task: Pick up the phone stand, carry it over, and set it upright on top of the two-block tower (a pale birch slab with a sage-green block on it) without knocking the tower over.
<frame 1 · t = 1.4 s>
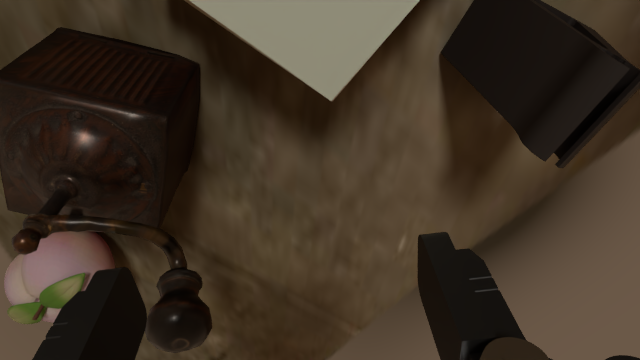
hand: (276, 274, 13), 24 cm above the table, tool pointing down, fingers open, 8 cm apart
phone stand: (514, 39, 34), on the table
decorative fruit: (89, 235, 46), on the table
manual coffee grinder: (163, 112, 38), on the table
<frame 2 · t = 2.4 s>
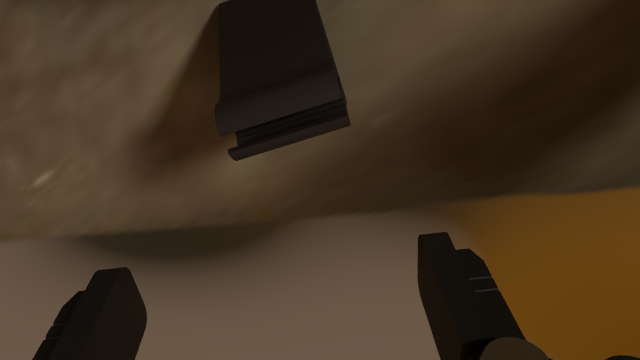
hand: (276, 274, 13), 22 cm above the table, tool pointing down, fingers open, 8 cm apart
phone stand: (286, 53, 32), on the table
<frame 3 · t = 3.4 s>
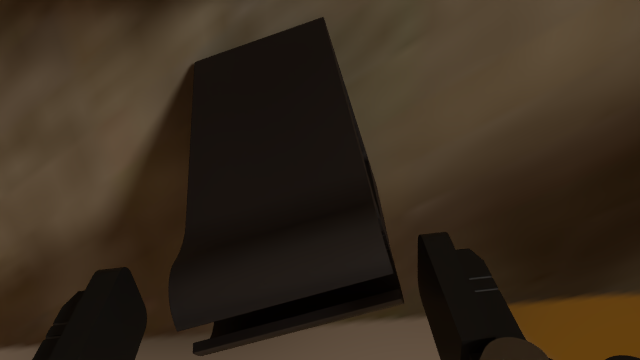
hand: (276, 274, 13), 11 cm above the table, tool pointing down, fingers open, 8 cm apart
phone stand: (293, 124, 23), on the table
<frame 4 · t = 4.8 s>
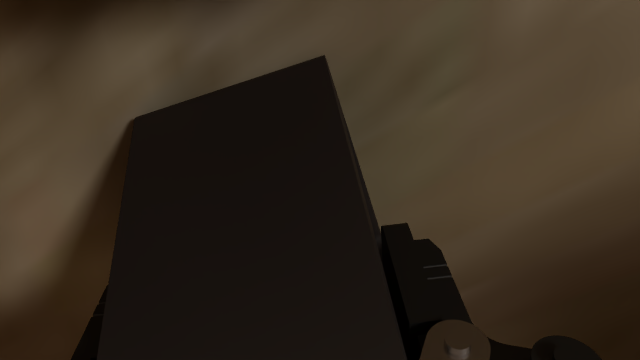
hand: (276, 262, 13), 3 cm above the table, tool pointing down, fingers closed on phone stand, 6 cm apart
phone stand: (280, 198, 16), on the table, touching gripper
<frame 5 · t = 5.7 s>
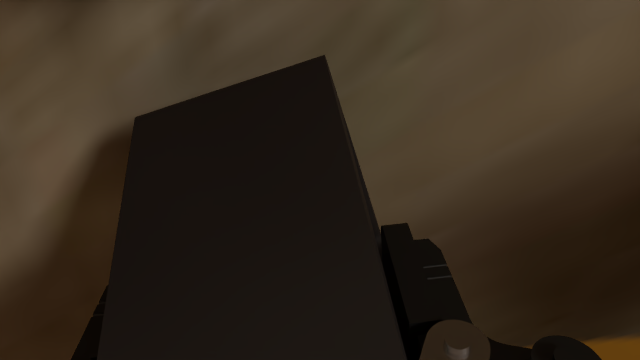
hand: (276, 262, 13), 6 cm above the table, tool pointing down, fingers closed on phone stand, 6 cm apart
phone stand: (280, 197, 16), point 3 cm above the table, touching gripper
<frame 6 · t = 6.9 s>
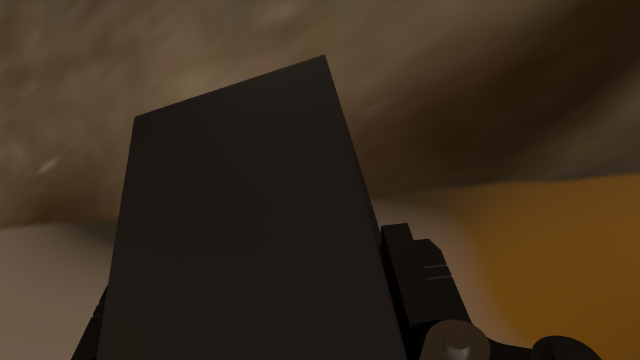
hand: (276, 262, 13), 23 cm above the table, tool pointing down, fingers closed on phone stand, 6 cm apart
phone stand: (280, 197, 16), point 20 cm above the table, touching gripper
when the fingers open (14 cm above the table, at t = 10.1 s): phone stand drops 2 cm, resting on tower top.
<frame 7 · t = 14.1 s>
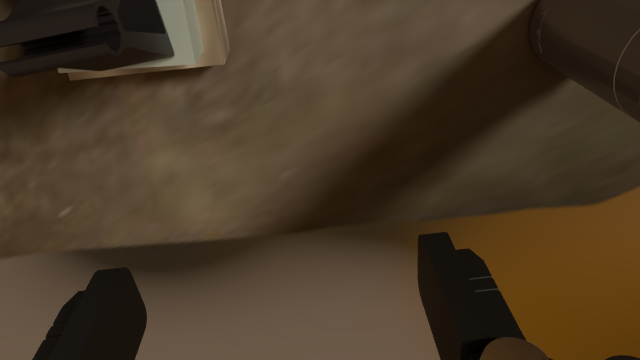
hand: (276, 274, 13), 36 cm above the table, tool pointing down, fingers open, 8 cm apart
phone stand: (117, 4, 35), point 8 cm above the table, touching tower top
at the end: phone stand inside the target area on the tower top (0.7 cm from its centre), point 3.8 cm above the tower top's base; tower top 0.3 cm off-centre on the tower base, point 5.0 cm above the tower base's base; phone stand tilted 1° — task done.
